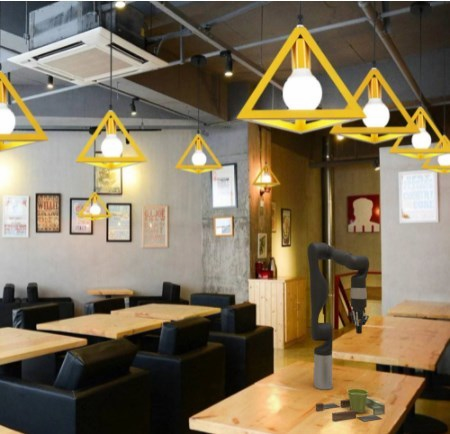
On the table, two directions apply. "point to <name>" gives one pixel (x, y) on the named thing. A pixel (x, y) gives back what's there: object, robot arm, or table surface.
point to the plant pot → (357, 399)
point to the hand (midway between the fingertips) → (359, 333)
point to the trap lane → (371, 403)
